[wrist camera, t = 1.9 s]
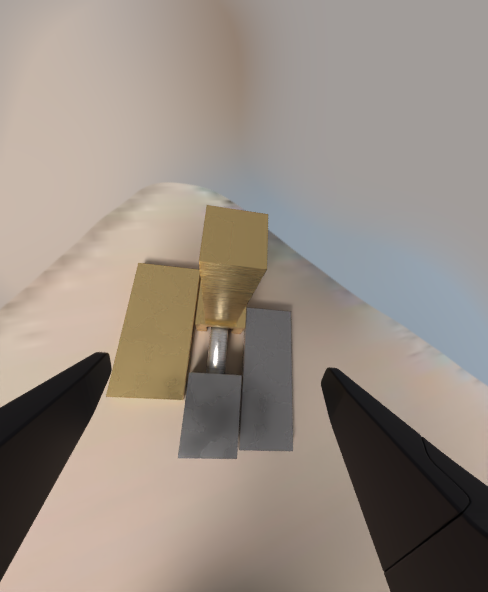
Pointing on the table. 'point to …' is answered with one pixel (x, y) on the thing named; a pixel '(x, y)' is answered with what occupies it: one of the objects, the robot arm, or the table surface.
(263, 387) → the fixed leaf
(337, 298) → the table surface
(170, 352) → the brass block assembly
